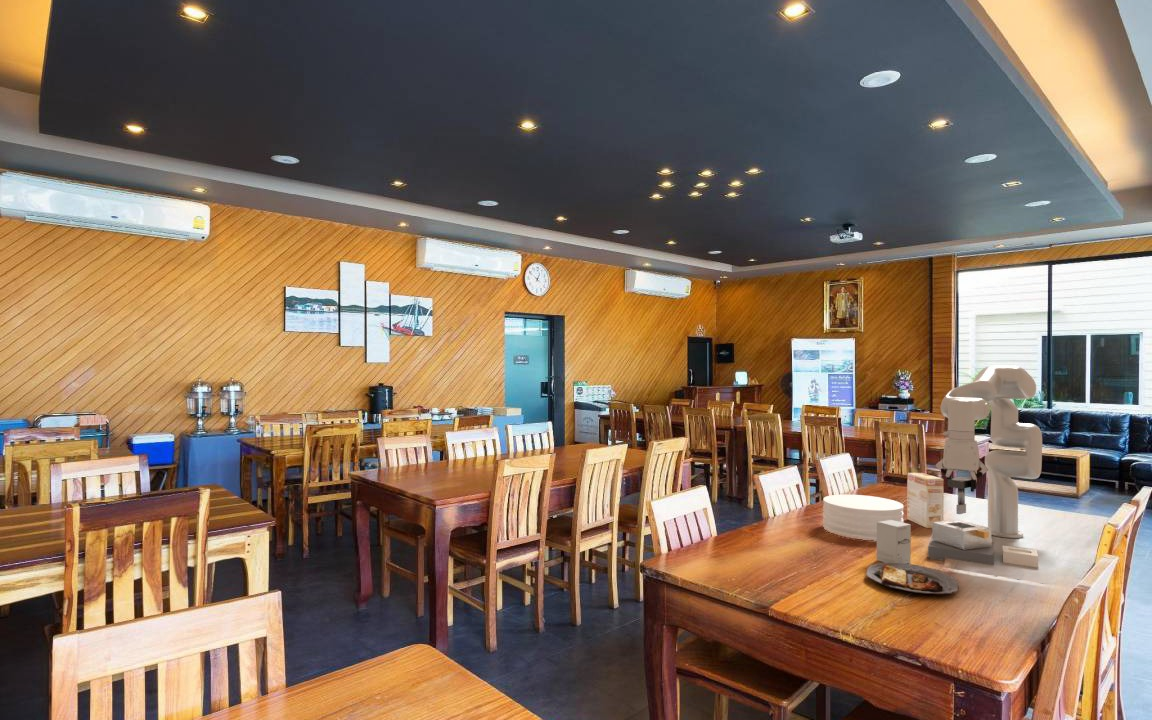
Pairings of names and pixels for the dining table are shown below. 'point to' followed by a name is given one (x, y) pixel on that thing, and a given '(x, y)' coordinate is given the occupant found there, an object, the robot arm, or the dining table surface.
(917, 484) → the coffeecake box
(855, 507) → the plate stack
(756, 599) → the dining table surface
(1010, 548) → the key stand
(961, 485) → the block
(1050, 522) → the dining table surface
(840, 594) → the dining table surface
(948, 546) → the grey flat slab
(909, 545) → the supplement box
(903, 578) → the food plate
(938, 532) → the chuck
